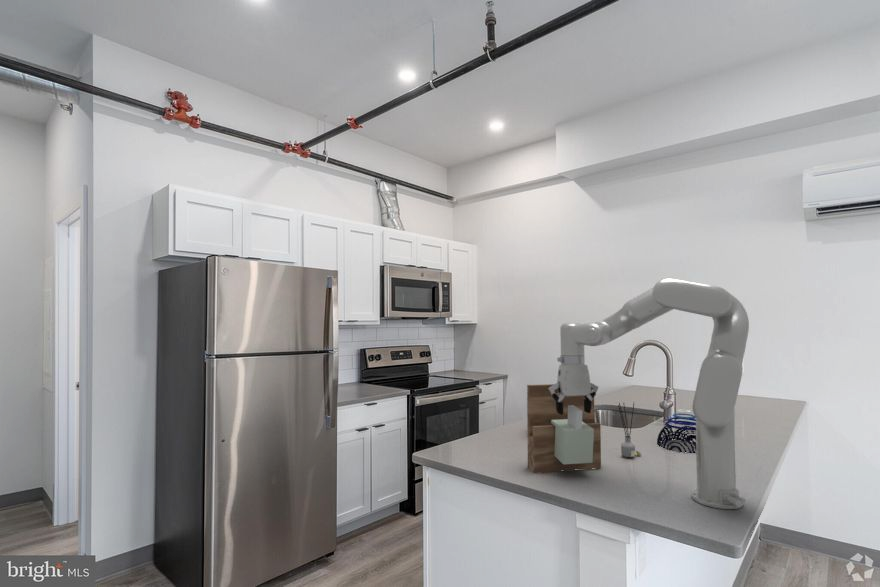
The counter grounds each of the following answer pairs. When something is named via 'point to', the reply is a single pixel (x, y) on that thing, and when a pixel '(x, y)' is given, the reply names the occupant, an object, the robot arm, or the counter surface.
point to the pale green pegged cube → (573, 438)
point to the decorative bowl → (679, 432)
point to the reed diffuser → (628, 440)
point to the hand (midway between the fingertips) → (573, 413)
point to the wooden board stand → (543, 430)
